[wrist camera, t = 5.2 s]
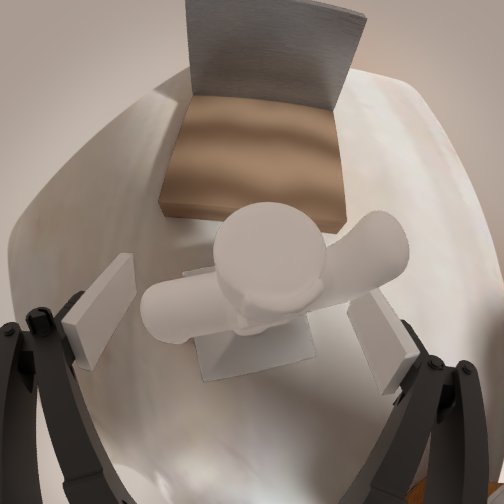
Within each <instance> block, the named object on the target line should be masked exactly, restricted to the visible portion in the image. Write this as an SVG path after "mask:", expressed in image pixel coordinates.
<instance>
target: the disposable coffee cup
mask: <svg viewBox="0 0 504 504" xmlns="http://www.w3.org/2000/svg"><path fill="white" fill-rule="evenodd" d="M426 479H427V478H425V479H423V480H422V481H421V482H419V483H418V484H417V485H416V486H415V487H414V488H413V489H412V490H411V491H410V492H409V493H408V494H407V496H406V497H405V500H406V501H407V502H408V504H422V502H423V497H424V491H425V485H426ZM487 504H504V483H494V482H488V500H487Z"/></svg>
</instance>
